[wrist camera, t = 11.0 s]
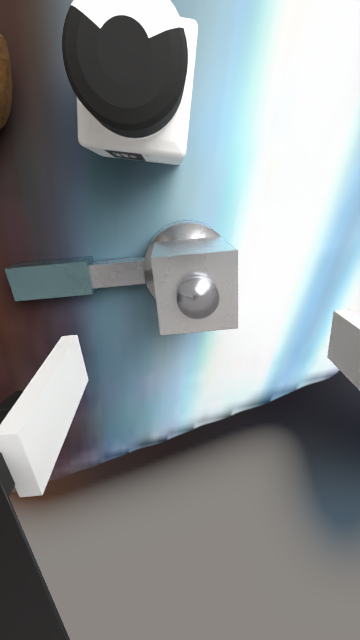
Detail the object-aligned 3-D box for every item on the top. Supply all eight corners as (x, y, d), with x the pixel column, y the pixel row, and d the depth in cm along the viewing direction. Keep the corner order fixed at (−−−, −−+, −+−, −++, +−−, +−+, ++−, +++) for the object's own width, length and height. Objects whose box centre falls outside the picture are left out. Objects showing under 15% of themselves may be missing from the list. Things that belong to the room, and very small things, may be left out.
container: (180, 165, 29) (191, 148, 17) (99, 156, 28) (49, 131, 16) (190, 65, 25) (211, -45, 14) (98, 51, 25) (37, -75, 13)
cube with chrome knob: (161, 304, 31) (160, 341, 23) (154, 242, 28) (150, 260, 21) (222, 298, 31) (240, 333, 23) (221, 236, 28) (240, 252, 21)
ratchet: (33, 316, 34) (-1, 348, 27) (8, 235, 30) (-38, 249, 24) (228, 298, 34) (243, 326, 27) (227, 216, 31) (244, 224, 24)
